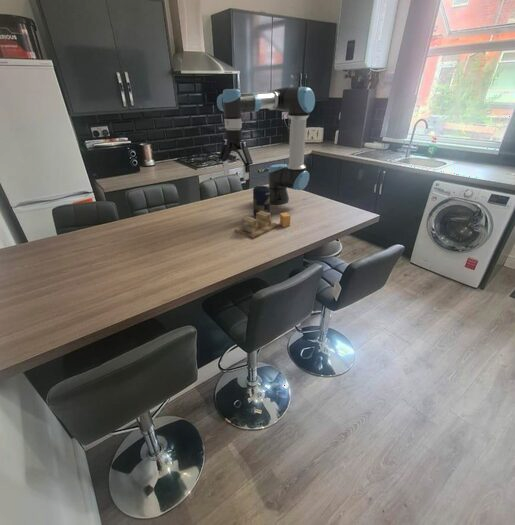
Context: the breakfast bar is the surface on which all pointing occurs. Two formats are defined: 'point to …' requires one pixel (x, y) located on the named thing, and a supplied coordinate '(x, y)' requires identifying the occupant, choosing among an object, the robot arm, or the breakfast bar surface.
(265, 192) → the canister
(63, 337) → the breakfast bar surface
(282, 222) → the orange rectangular block
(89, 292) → the breakfast bar surface
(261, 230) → the shaft bench
